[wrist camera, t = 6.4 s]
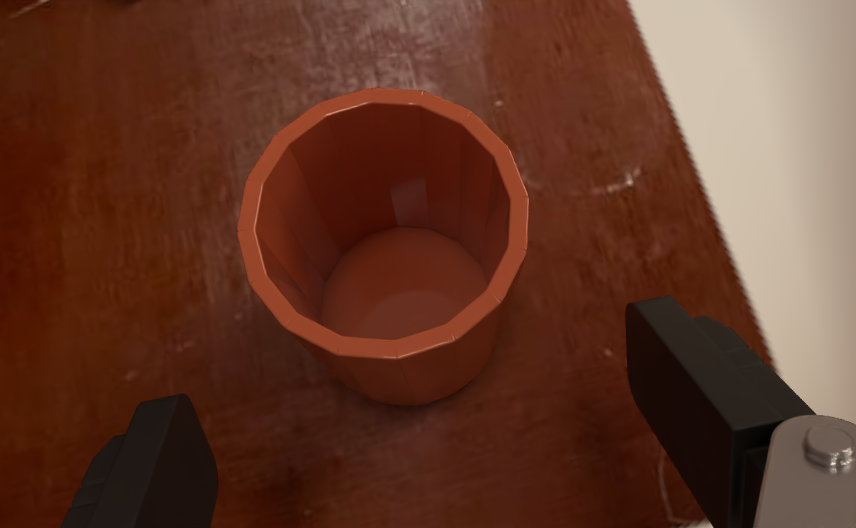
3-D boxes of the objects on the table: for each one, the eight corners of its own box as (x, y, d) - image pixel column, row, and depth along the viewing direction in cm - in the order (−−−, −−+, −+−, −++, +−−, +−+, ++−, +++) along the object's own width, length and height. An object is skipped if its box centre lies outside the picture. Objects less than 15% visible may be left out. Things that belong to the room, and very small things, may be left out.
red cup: (419, 189, 23) (402, 40, 15) (541, 320, 21) (590, 227, 14) (276, 300, 22) (182, 201, 14) (394, 447, 20) (358, 423, 13)
